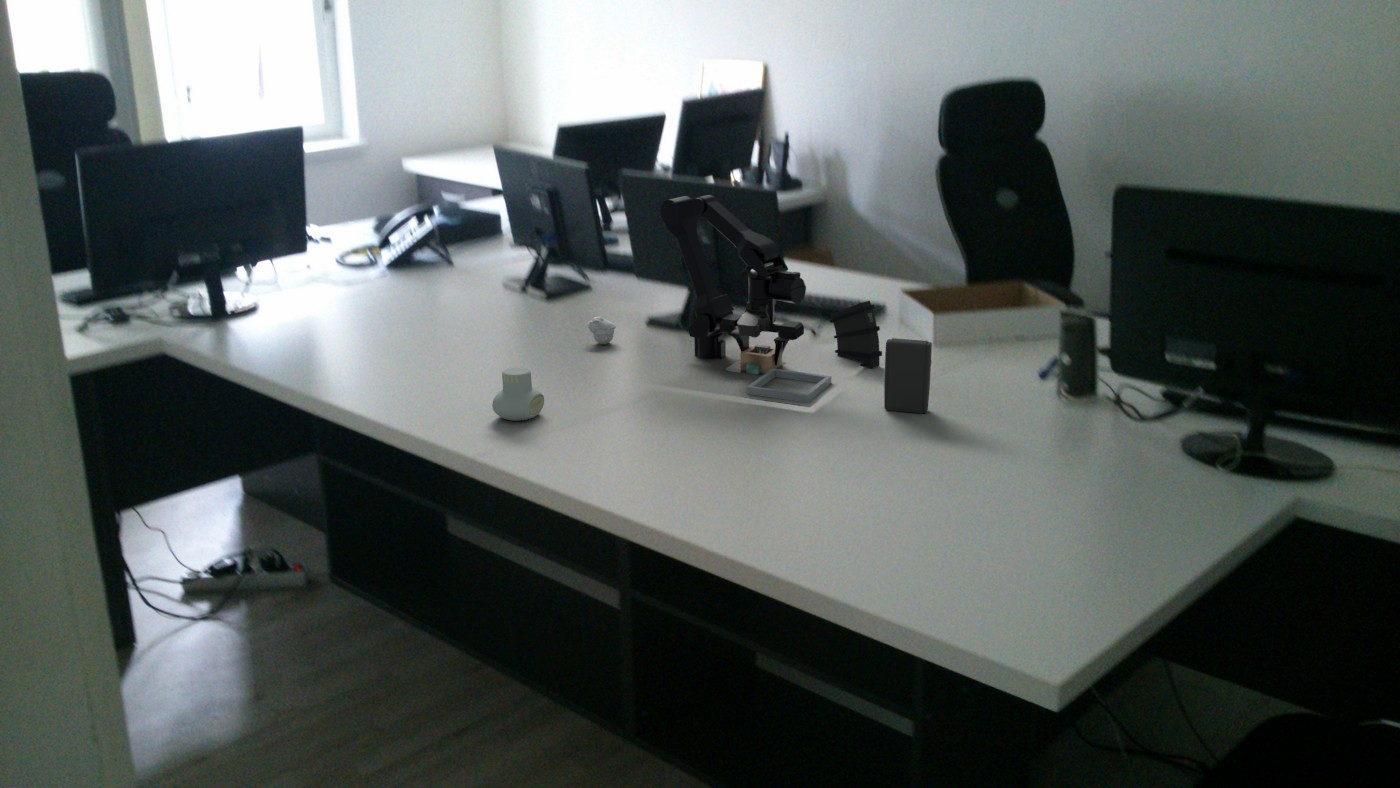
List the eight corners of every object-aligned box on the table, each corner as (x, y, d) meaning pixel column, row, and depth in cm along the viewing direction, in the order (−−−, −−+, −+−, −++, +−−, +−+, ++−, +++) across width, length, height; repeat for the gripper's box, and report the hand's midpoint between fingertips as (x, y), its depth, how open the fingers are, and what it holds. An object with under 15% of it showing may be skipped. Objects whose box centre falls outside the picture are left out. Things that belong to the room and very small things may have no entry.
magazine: (881, 365, 271) (861, 302, 271) (841, 377, 282) (822, 316, 282) (891, 362, 273) (872, 299, 274) (852, 374, 284) (833, 313, 284)
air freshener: (524, 427, 242) (521, 380, 239) (488, 423, 245) (485, 377, 242) (549, 410, 252) (546, 365, 249) (514, 406, 255) (511, 361, 251)
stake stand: (723, 374, 272) (723, 349, 270) (743, 361, 282) (743, 337, 280) (767, 380, 268) (767, 355, 266) (786, 366, 277) (786, 342, 275)
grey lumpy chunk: (588, 341, 299) (587, 314, 297) (616, 339, 300) (615, 312, 298) (588, 348, 294) (587, 320, 291) (617, 346, 294) (616, 319, 292)
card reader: (930, 409, 248) (933, 339, 243) (927, 415, 245) (930, 345, 240) (886, 404, 251) (889, 336, 246) (882, 411, 248) (885, 341, 243)
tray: (746, 397, 257) (746, 386, 256) (772, 378, 269) (772, 368, 268) (807, 406, 251) (807, 395, 250) (831, 387, 263) (831, 376, 262)
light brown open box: (737, 371, 271) (737, 354, 269) (753, 361, 278) (753, 344, 277) (766, 375, 268) (766, 358, 266) (782, 364, 275) (782, 348, 274)
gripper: (708, 301, 265) (709, 368, 270) (785, 309, 257) (785, 378, 263) (729, 289, 275) (730, 354, 280) (805, 297, 267) (804, 364, 272)
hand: (761, 363), depth 273 cm, fingers closed on light brown open box, 7 cm apart
